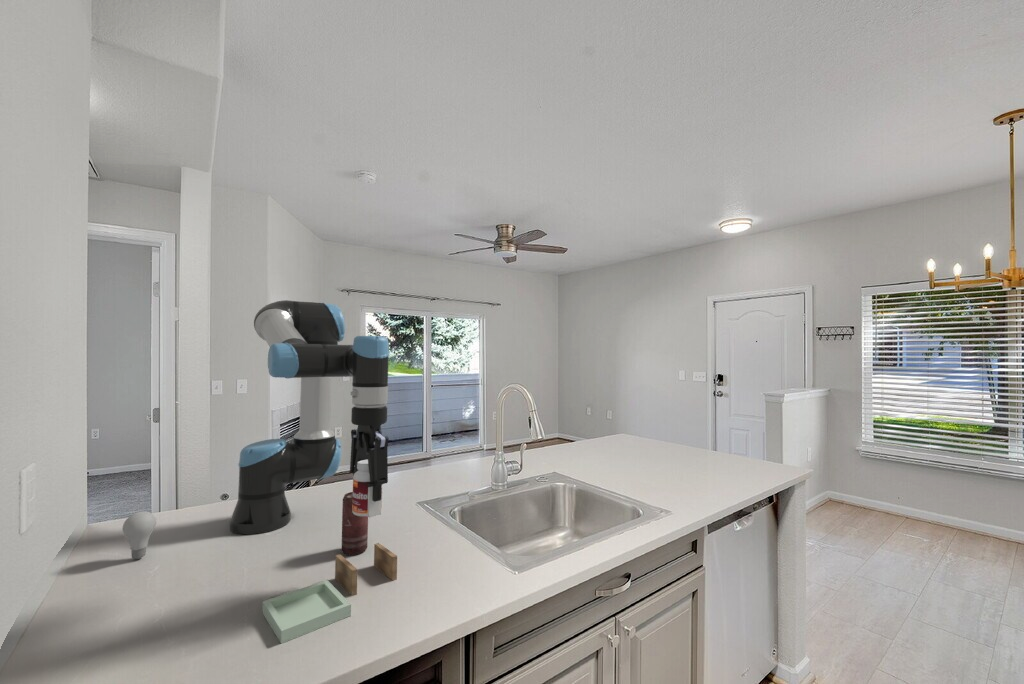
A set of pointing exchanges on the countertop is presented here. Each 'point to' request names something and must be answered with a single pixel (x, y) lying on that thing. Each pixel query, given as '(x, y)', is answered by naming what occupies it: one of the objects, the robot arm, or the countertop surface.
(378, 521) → the countertop surface
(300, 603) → the tray
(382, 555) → the rack
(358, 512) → the pill bottle
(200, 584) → the countertop surface
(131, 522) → the lightbulb
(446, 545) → the countertop surface
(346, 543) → the can
